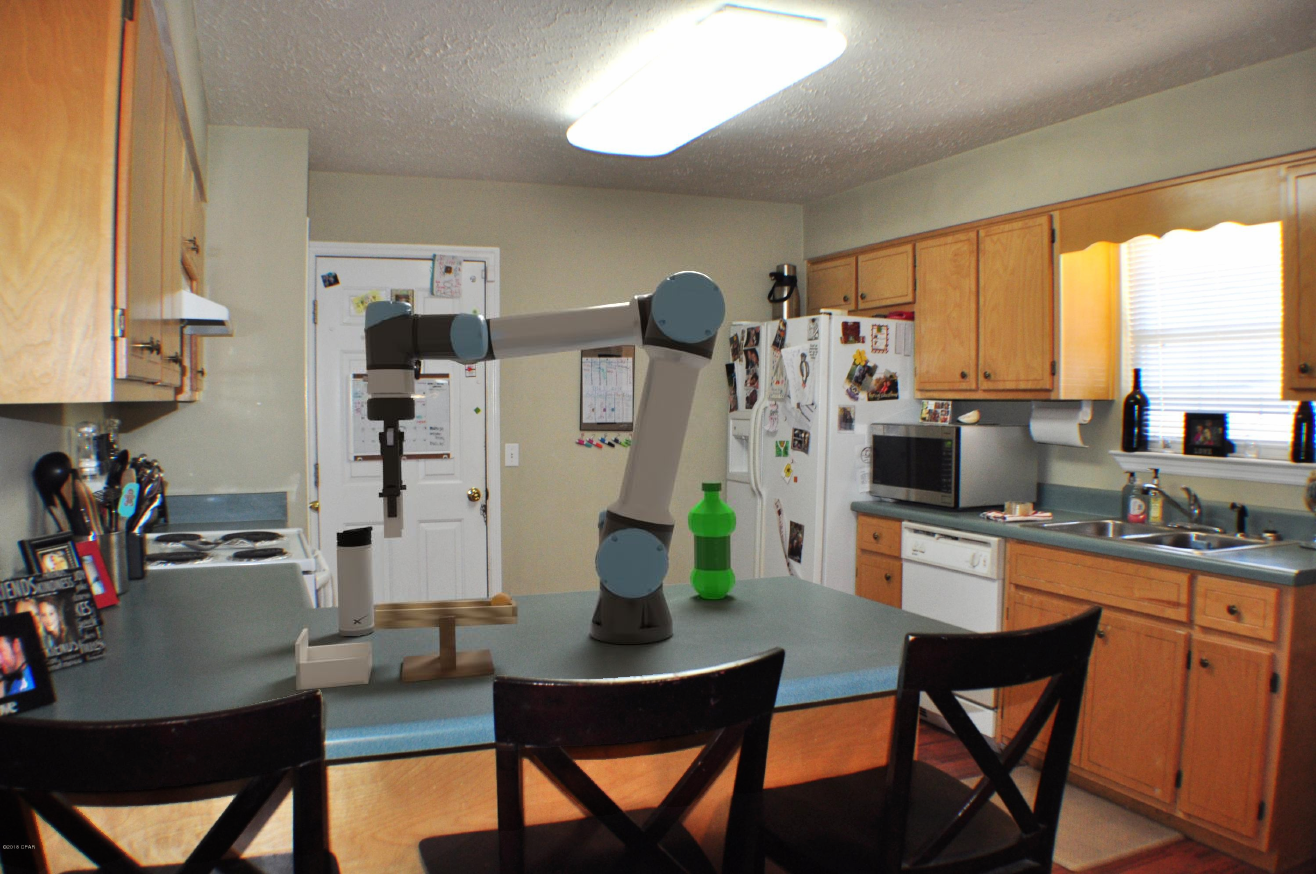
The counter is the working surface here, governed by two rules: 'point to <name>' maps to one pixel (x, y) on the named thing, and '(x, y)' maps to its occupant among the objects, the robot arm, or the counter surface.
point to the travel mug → (355, 582)
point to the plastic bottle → (712, 544)
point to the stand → (447, 659)
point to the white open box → (331, 664)
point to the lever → (442, 614)
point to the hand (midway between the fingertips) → (394, 533)
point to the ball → (501, 600)
